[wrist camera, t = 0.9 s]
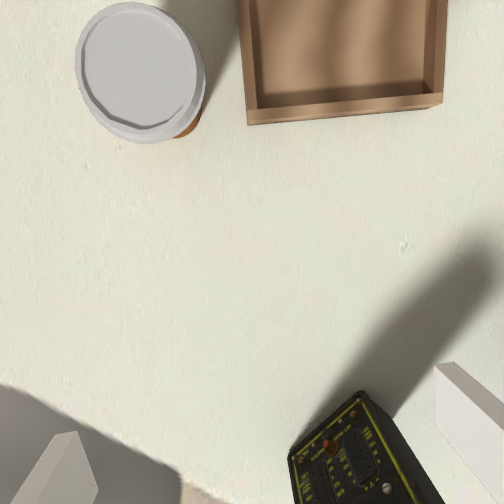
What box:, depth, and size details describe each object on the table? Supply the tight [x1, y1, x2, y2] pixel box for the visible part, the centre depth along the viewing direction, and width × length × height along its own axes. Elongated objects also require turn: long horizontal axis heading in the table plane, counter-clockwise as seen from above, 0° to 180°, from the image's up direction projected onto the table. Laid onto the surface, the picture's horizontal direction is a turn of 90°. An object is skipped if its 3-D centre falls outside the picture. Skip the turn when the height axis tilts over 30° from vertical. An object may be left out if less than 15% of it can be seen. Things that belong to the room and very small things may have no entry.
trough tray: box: [236, 0, 448, 126], centre depth 31 cm, size 20×15×3 cm
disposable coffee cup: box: [75, 2, 206, 144], centre depth 28 cm, size 10×10×12 cm
